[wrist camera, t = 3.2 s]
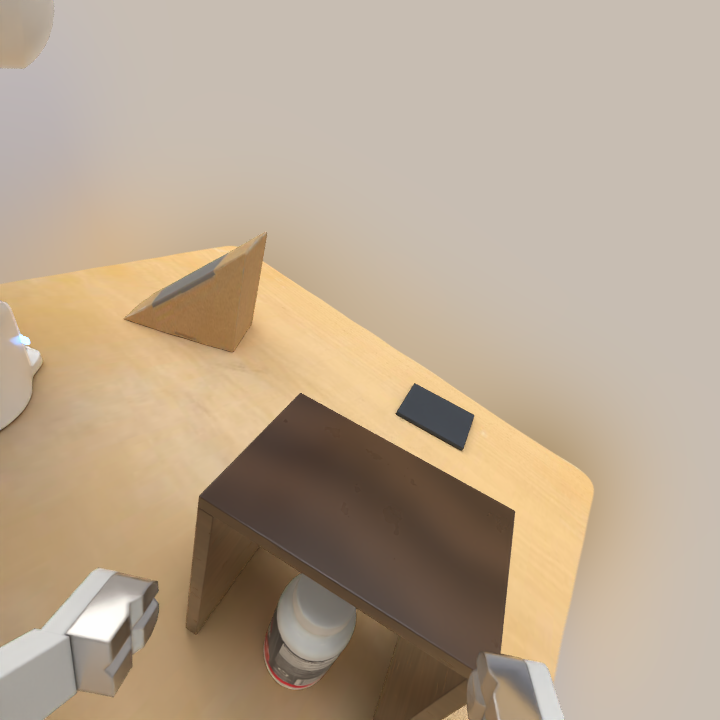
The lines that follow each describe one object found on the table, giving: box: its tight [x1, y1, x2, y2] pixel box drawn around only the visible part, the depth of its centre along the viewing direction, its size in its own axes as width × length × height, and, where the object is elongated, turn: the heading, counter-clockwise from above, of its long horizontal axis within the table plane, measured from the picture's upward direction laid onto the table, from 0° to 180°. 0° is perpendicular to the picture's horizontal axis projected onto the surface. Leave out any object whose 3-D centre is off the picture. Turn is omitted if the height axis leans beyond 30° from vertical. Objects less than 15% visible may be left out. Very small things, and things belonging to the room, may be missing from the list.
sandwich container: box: [124, 232, 267, 352], centre depth 54 cm, size 9×15×15 cm, turn 84°
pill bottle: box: [264, 573, 356, 690], centre depth 28 cm, size 5×5×10 cm
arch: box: [186, 393, 515, 720], centre depth 27 cm, size 10×16×17 cm, turn 66°
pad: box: [396, 383, 474, 451], centre depth 57 cm, size 10×8×1 cm
